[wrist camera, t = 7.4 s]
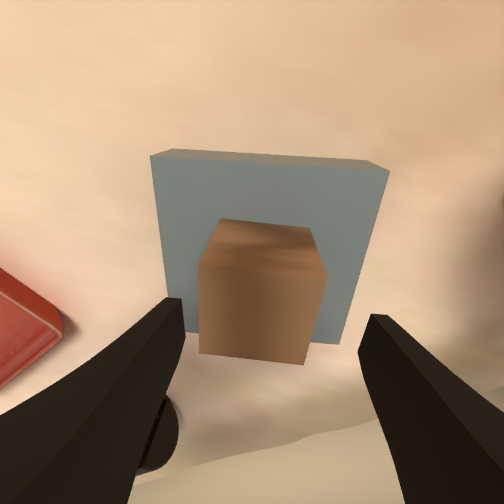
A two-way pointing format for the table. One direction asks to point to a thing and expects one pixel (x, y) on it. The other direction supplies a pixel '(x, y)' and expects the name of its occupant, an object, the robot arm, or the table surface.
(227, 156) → the slate-blue block
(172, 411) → the end cap
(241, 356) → the walnut cube
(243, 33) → the table surface
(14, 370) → the plant saucer
